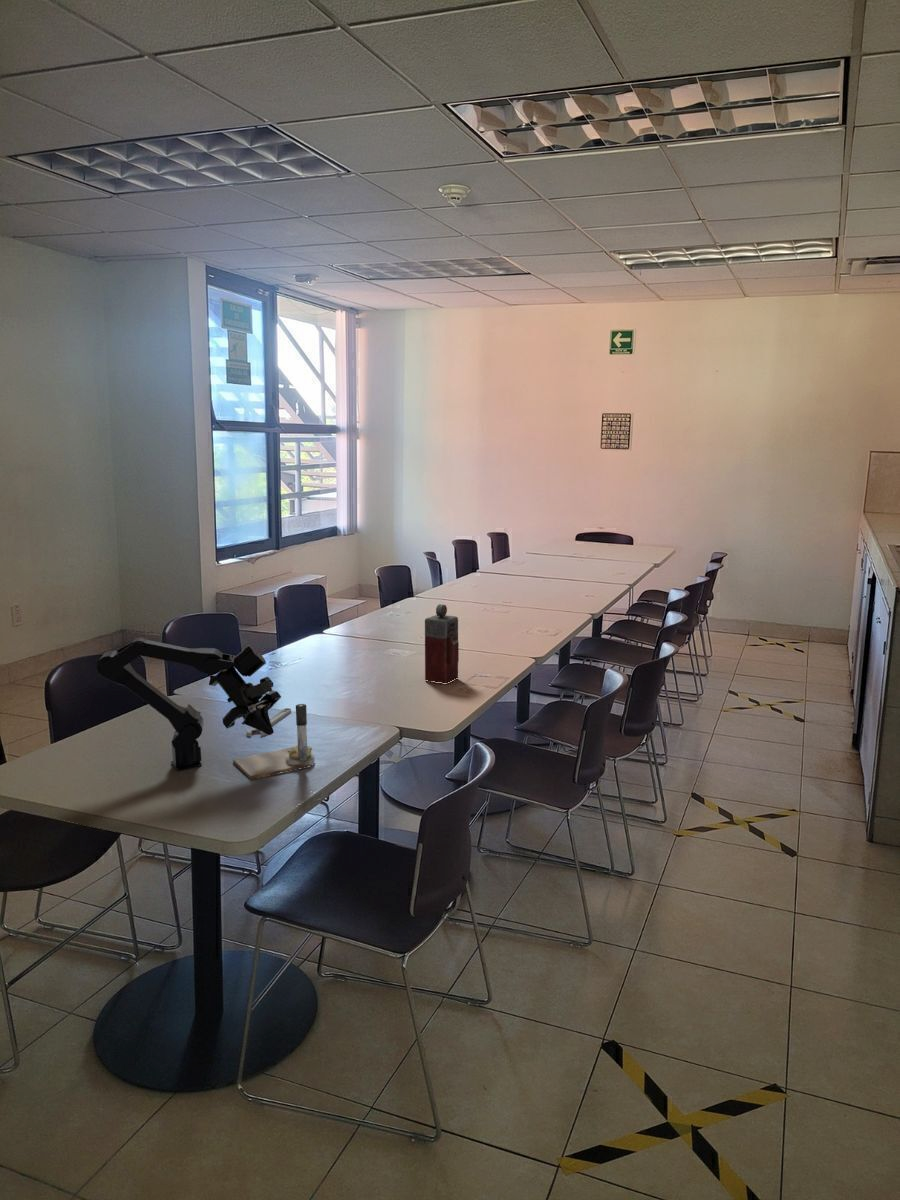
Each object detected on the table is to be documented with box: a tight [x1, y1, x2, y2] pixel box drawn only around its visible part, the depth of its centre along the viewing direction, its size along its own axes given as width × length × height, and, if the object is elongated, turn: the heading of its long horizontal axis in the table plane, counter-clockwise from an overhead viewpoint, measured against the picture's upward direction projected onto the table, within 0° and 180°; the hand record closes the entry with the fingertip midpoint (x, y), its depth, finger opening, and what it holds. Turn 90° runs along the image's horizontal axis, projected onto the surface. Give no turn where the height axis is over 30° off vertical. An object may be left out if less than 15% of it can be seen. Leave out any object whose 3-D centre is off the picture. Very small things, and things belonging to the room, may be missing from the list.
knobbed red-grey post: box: [424, 603, 460, 683], centre depth 305 cm, size 9×11×28 cm
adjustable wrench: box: [246, 707, 292, 738], centre depth 261 cm, size 25×6×2 cm, turn 162°
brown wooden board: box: [232, 747, 316, 780], centre depth 228 cm, size 19×14×2 cm
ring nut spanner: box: [288, 703, 313, 761], centre depth 224 cm, size 10×6×16 cm, turn 17°
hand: (271, 733), depth 223 cm, fingers closed
